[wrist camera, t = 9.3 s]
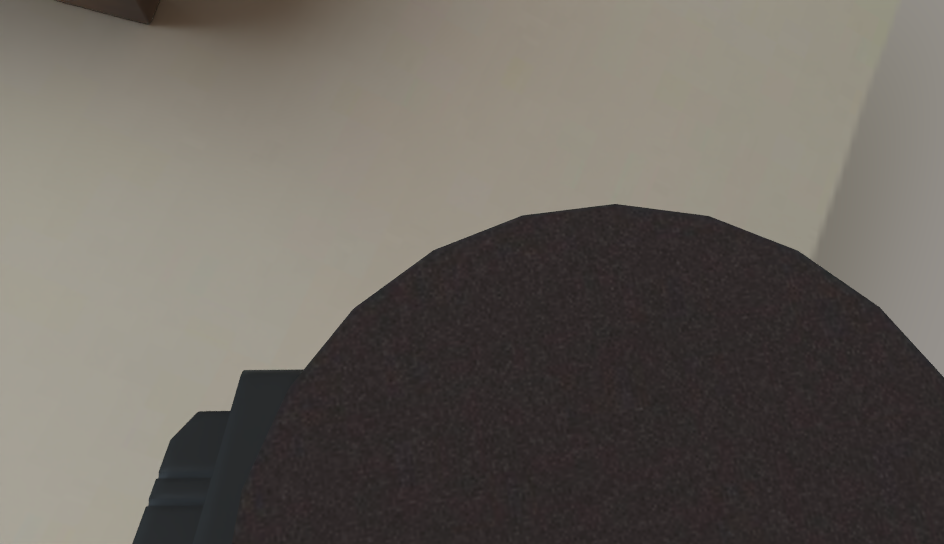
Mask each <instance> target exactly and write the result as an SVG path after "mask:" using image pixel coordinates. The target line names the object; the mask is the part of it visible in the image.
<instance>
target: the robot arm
mask: <svg viewBox="0 0 944 544" xmlns="http://www.w3.org/2000/svg"><path fill="white" fill-rule="evenodd" d="M302 371H303V370H244V371H243V372H242V374H241V377H240V380H239V383H238V387H237V390H236V394H235V397H234V401H233V404H232V408H231V411H206V412H197V414H196V415H195V416H194V417H193V418H192V419H191V420H190V421H189V422H188V423H187V424H186V425H185V426H184V427H183V428H182V429H181V430H180V431H179V432H178V433H177V434H176V435H175V436H174V437H173V438H172V439H171V440H170V443H169V446H168V448H167V451H166V454H165V456H164V459H163V462H162V465H161V467H160V470H159V478H158V479H156V481H155V484H154V486H153V489H152V492H151V495H150V497H149V505H148V507H146V508H145V511H144V514H143V516H142V519H141V522H140V525H139V527H138V530H137V533H136V535H135V538H134V541H133V544H232V539H233V534H234V528H235V523H236V518H237V513H238V507H239V502H240V497H241V492H242V488H243V486H244V484H245V482H246V479H247V477H248V475H249V473H250V471H251V469H252V466H253V464H254V462H255V460H256V458H257V456H258V453H259V451H260V449H261V447H262V445H263V442H264V440H265V438H266V436H267V434H268V432H269V429H270V427H271V425H272V423H273V421H274V419H275V416H276V414H277V412H278V410H279V408H280V406H281V403H282V401H283V399H284V397H285V395H286V393H287V390H288V389H289V387H290V386H291V385H292V384H293V382H294V381H295V380H296V379H297V378H298V376H299V375H300V374H301V373H302Z"/></svg>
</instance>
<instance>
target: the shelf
mask: <svg viewBox="0 0 944 544" xmlns="http://www.w3.org/2000/svg"><path fill="white" fill-rule="evenodd" d="M56 1H60V2H64V3H68V4H72V5H75V6H79V7H83V8H87V9H91V10H95V11H99V12H102V13H106V14H110V15H114V16H118V17H122V18H126V19H129V20H133V21H137V22H141V23H145V24H150V23H151V21H152V18H153V16H154V13H155V11H156V8H157V6H158V4H159V1H160V0H56Z"/></svg>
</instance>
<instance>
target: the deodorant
mask: <svg viewBox="0 0 944 544" xmlns="http://www.w3.org/2000/svg"><path fill="white" fill-rule="evenodd" d="M232 544H944V377H943V376H942V375H941V374H940V373H939V372H938V371H937V369H935V367H934V366H933V365H932V364H931V363H930V362H929V361H928V360H927V359H926V357H925V356H924V355H923V354H922V353H921V352H920V351H919V350H918V349H917V348H916V347H915V346H914V344H913V343H912V342H911V341H910V340H909V339H908V338H907V337H906V336H905V335H904V333H903V332H901V330H900V329H899V328H898V327H897V326H896V325H895V324H894V323H893V321H892V320H891V319H890V318H889V317H888V316H887V315H886V314H885V313H884V312H883V311H882V309H881V308H880V307H878V306H877V305H875V304H874V303H872V302H871V301H870V300H868V299H867V298H865V297H864V296H862V295H861V294H859V293H858V292H857V291H855V290H854V289H852V288H851V287H849V286H848V285H846V284H845V283H844V282H842V281H841V280H839V279H838V278H836V277H835V276H833V275H832V274H831V273H829V272H828V271H826V270H825V269H823V268H822V267H820V266H819V265H818V264H816V263H815V262H813V261H812V260H810V259H809V258H807V257H806V256H805V255H803V254H802V253H800V252H799V251H797V250H794V249H792V248H789V247H787V246H784V245H781V244H779V243H776V242H774V241H771V240H769V239H766V238H763V237H761V236H758V235H756V234H753V233H751V232H748V231H745V230H743V229H740V228H738V227H735V226H733V225H730V224H727V223H725V222H722V221H720V220H717V219H715V218H712V217H709V216H703V215H696V214H688V213H680V212H672V211H665V210H657V209H649V208H642V207H634V206H626V205H618V204H612V205H604V206H596V207H588V208H580V209H572V210H564V211H556V212H548V213H540V214H531V215H523V216H520V217H518V218H515V219H513V220H510V221H507V222H505V223H502V224H500V225H497V226H495V227H492V228H490V229H487V230H484V231H482V232H479V233H477V234H474V235H472V236H469V237H467V238H464V239H461V240H459V241H456V242H454V243H451V244H449V245H446V246H444V247H441V248H438V249H436V250H433V251H432V252H431V253H429V254H428V255H427V256H425V257H424V258H422V259H421V260H420V261H418V262H417V263H416V264H414V265H413V266H411V267H410V268H409V269H407V270H406V271H405V272H403V273H402V274H400V275H399V276H398V277H396V278H395V279H394V280H392V281H391V282H390V283H388V284H387V285H385V286H384V287H383V288H381V289H380V290H379V291H377V292H376V293H374V294H373V295H372V296H370V297H369V298H368V299H366V300H365V301H363V302H362V303H361V304H359V305H358V306H357V307H355V308H354V309H353V310H352V311H351V313H350V314H349V315H348V316H347V317H346V319H345V320H344V321H343V322H342V324H341V325H340V326H339V327H338V328H337V330H336V331H335V332H334V333H333V335H332V336H331V337H330V338H329V340H328V341H327V342H326V343H325V344H324V346H323V347H322V348H321V349H320V351H319V352H318V353H317V354H316V355H315V357H314V358H313V359H312V360H311V362H310V363H309V364H308V365H307V367H306V368H305V369H304V370H303V371H302V373H301V374H300V375H299V376H298V378H297V379H296V380H295V381H294V382H293V384H292V385H291V386H290V387H289V389H288V390H287V393H286V395H285V397H284V399H283V401H282V403H281V406H280V408H279V410H278V412H277V414H276V416H275V419H274V421H273V423H272V425H271V427H270V429H269V432H268V434H267V436H266V438H265V440H264V442H263V445H262V447H261V449H260V451H259V453H258V456H257V458H256V460H255V462H254V464H253V466H252V469H251V471H250V473H249V475H248V477H247V479H246V482H245V484H244V486H243V488H242V492H241V497H240V502H239V507H238V513H237V518H236V523H235V528H234V534H233V539H232Z"/></svg>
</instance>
